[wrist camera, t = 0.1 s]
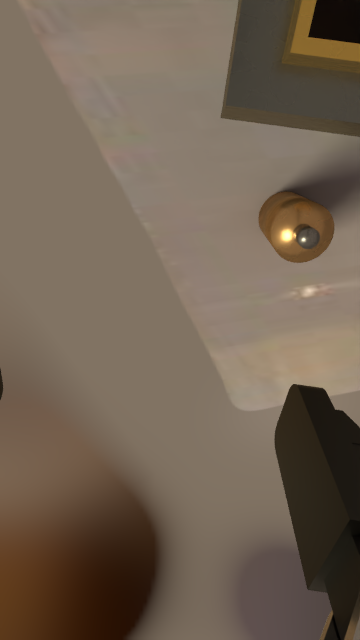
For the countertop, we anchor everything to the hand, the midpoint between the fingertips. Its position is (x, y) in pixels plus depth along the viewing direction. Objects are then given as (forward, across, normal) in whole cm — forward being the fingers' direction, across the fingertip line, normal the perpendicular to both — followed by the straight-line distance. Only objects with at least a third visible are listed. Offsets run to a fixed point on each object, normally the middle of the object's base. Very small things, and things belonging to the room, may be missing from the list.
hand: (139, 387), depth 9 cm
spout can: (+29, -10, -1) cm, 31 cm away
